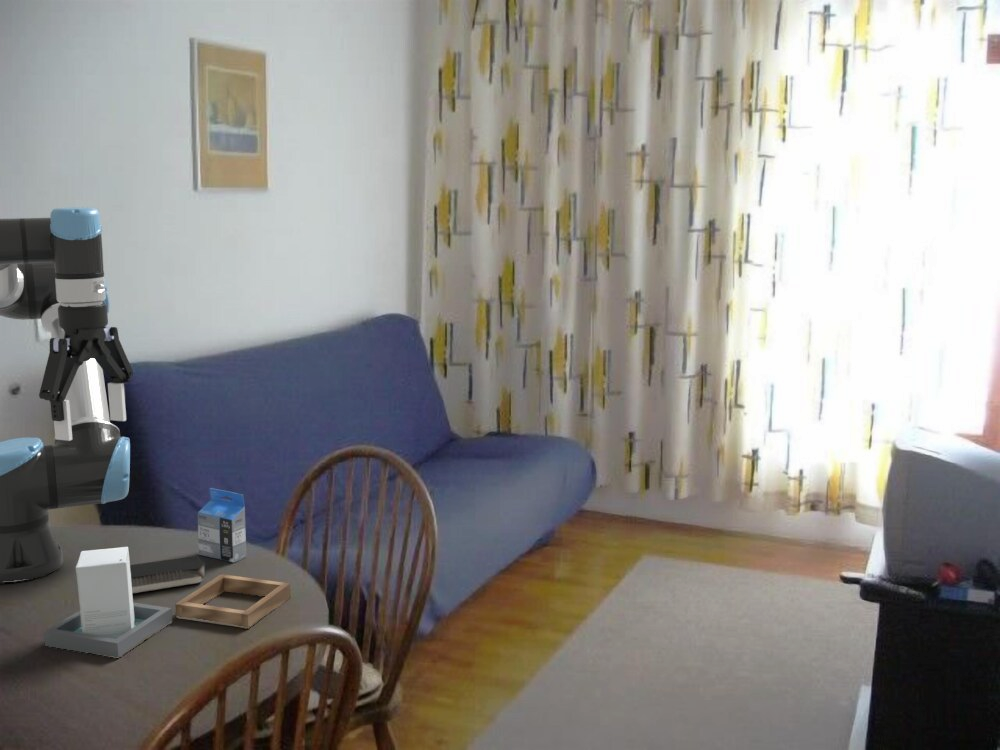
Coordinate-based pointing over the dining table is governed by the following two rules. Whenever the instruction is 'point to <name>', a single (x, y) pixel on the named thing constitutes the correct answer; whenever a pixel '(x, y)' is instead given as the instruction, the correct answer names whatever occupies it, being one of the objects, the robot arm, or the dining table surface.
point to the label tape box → (222, 527)
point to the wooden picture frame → (270, 589)
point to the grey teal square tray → (72, 637)
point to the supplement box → (105, 592)
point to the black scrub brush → (166, 574)
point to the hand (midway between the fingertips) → (92, 429)
